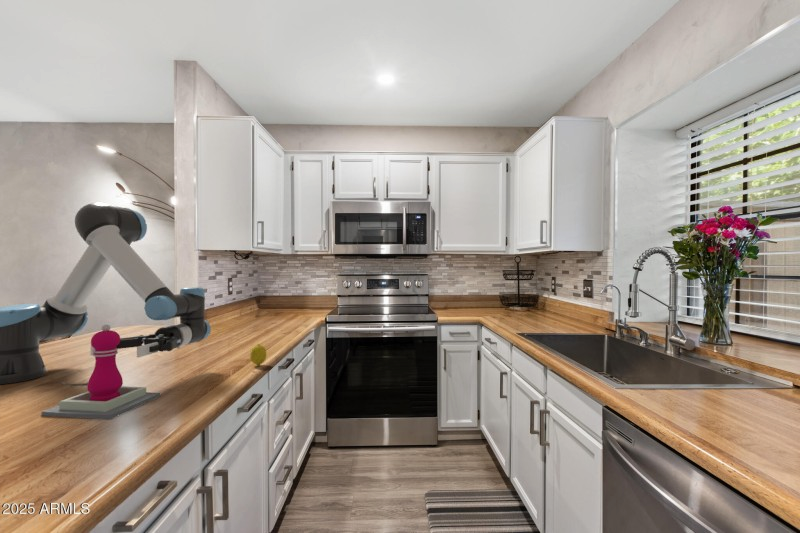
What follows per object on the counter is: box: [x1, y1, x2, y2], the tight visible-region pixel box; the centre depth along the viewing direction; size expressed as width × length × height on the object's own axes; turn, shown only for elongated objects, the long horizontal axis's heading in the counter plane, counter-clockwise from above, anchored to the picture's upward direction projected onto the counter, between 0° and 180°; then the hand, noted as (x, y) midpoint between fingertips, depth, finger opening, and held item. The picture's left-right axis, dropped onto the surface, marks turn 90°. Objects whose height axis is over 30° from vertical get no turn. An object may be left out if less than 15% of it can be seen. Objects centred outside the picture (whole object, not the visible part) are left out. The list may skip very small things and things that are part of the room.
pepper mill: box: [86, 324, 124, 401], centre depth 96 cm, size 7×7×20 cm
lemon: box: [250, 343, 267, 367], centre depth 137 cm, size 6×6×8 cm
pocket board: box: [40, 385, 161, 420], centre depth 96 cm, size 18×16×3 cm
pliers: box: [60, 381, 88, 386], centre depth 116 cm, size 10×1×20 cm
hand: (114, 351), depth 98 cm, fingers open, 13 cm apart
